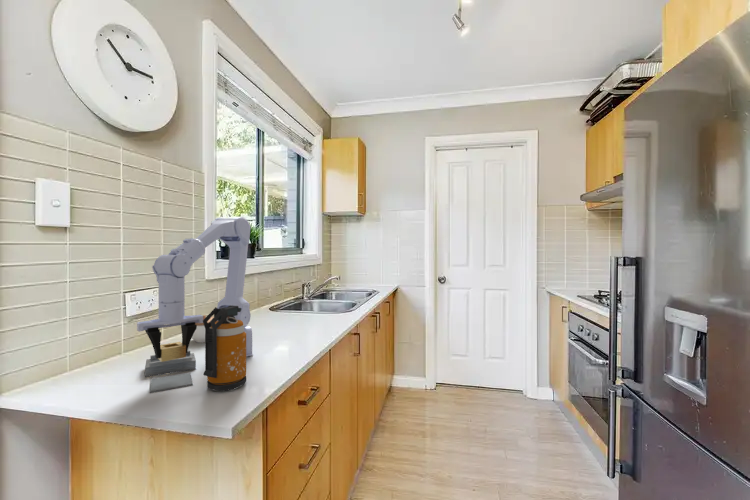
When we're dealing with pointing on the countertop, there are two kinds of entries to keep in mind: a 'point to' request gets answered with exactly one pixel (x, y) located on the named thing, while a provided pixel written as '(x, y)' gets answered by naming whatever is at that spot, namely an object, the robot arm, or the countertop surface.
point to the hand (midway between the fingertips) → (171, 354)
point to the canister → (225, 349)
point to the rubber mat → (170, 382)
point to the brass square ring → (172, 351)
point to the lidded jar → (200, 331)
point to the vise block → (169, 365)
